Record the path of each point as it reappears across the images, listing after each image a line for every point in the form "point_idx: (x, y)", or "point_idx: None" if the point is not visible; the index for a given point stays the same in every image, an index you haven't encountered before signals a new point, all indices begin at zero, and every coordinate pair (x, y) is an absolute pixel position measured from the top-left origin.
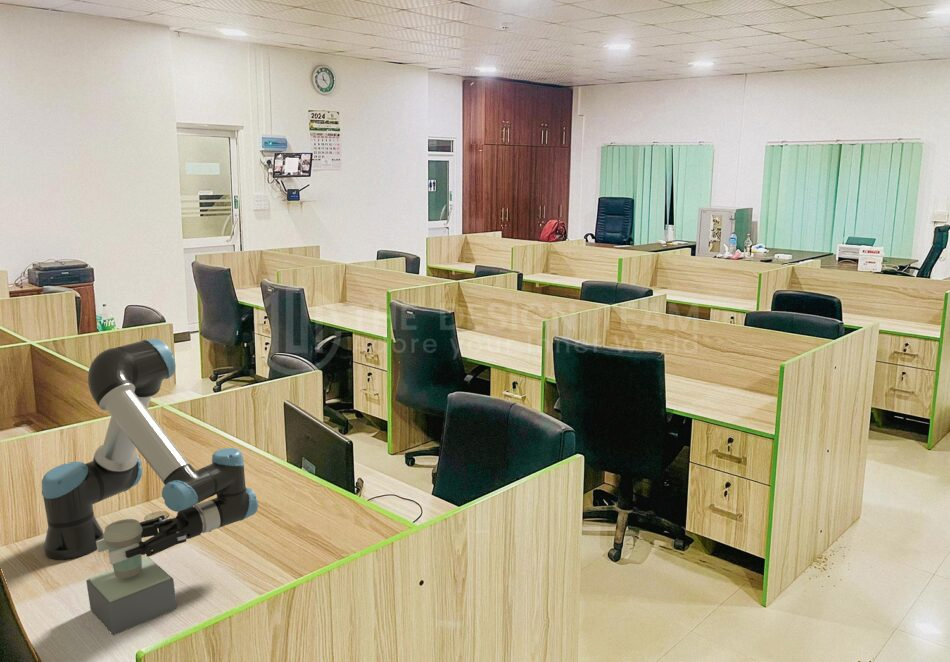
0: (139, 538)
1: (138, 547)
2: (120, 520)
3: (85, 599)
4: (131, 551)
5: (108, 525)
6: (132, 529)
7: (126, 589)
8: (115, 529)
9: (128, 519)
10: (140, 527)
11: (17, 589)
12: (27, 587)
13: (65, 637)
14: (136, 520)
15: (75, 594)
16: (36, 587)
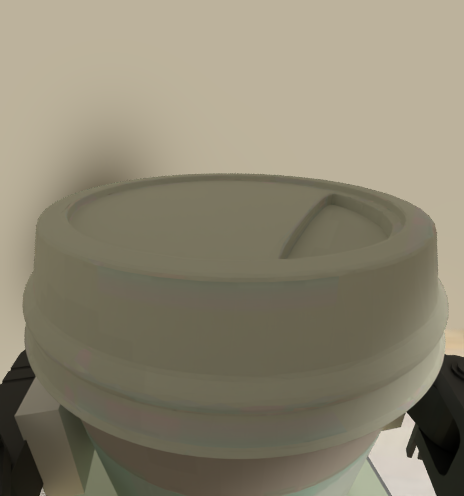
0: (89, 430)
1: (3, 432)
2: (396, 200)
3: (376, 441)
4: (12, 368)
5: (310, 179)
6: (37, 222)
7: (103, 486)
8: (212, 190)
9: (415, 224)
10: (128, 355)
11: (447, 330)
12: (456, 342)
13: None
14: (336, 262)
15: (412, 420)
16: (456, 354)
